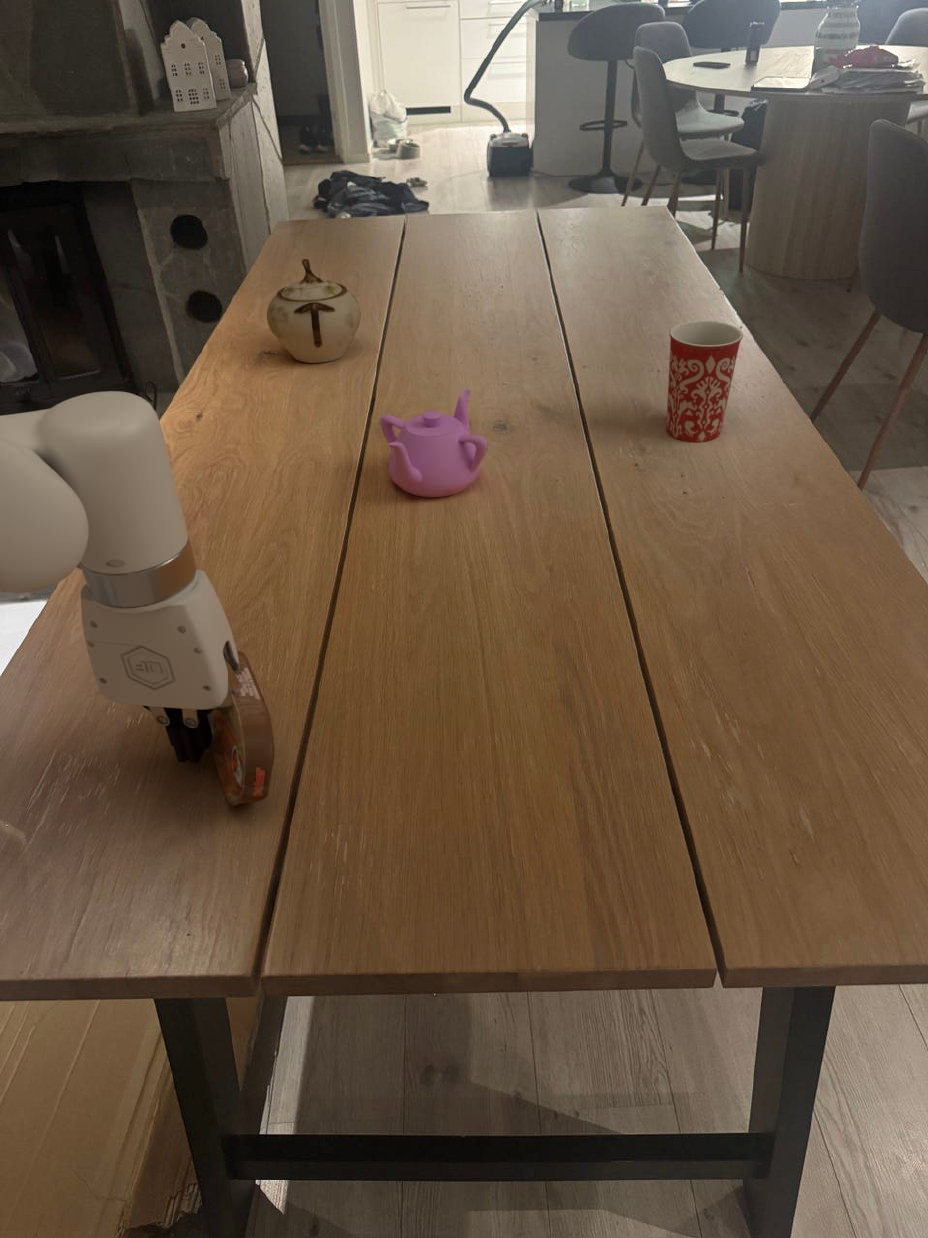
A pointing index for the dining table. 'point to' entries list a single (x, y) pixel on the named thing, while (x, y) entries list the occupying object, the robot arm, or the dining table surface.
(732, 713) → the dining table surface
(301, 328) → the sugar bowl
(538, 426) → the dining table surface
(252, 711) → the tin
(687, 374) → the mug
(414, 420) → the teapot
